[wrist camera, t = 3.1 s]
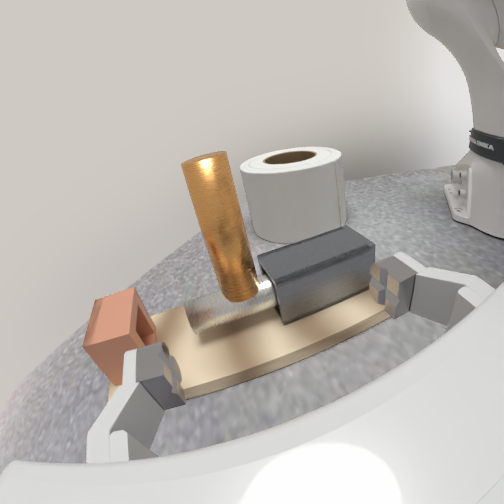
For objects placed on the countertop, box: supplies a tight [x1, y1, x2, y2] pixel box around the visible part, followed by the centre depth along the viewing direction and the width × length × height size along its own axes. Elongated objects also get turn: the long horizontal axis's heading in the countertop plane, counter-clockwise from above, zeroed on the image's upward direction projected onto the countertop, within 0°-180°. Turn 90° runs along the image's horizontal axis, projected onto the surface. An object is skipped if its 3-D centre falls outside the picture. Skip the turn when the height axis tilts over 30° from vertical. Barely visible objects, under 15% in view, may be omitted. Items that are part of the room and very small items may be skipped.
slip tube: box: [181, 151, 279, 334], centre depth 22 cm, size 16×3×14 cm, turn 106°
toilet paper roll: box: [240, 147, 347, 244], centre depth 43 cm, size 16×15×11 cm
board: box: [108, 290, 391, 402], centre depth 26 cm, size 27×11×2 cm, turn 106°
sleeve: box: [257, 225, 375, 326], centre depth 25 cm, size 10×5×5 cm, turn 106°
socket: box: [83, 287, 157, 386], centre depth 22 cm, size 4×7×5 cm
